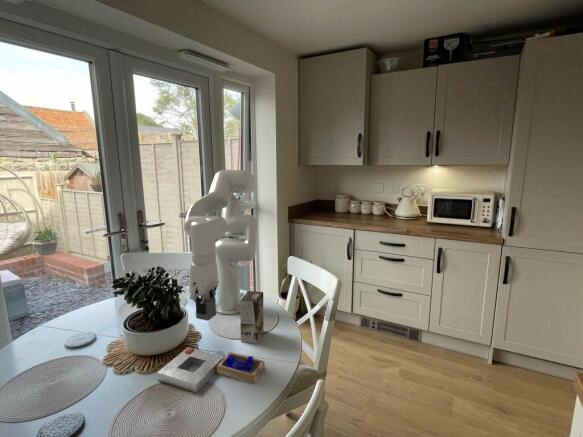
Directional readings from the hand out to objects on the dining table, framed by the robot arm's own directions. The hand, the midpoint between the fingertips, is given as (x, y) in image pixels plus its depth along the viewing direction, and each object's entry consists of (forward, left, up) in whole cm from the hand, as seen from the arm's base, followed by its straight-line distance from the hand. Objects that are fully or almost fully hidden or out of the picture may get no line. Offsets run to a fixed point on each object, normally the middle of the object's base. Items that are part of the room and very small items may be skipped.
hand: (206, 309), depth 107 cm
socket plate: (+11, +2, -16) cm, 19 cm away
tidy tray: (+5, +16, -15) cm, 23 cm away
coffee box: (-14, +10, -16) cm, 23 cm away
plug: (0, 0, -2) cm, 2 cm away
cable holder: (+4, +15, -16) cm, 22 cm away
